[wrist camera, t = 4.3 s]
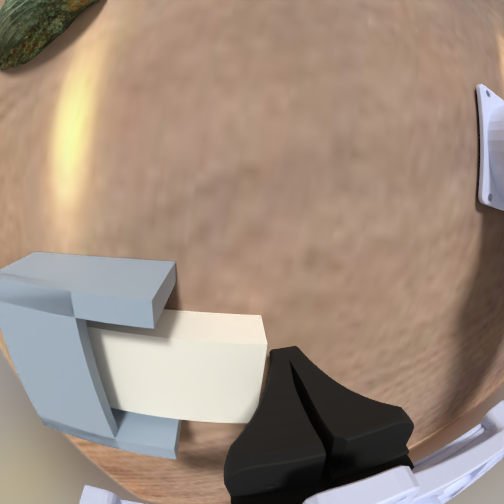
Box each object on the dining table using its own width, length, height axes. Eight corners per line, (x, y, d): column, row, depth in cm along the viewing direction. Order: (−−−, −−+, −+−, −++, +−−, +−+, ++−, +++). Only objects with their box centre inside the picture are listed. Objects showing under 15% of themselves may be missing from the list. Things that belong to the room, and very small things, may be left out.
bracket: (175, 261, 12) (151, 300, 8) (184, 406, 14) (176, 459, 10) (35, 251, 11) (-13, 276, 7) (68, 384, 13) (44, 424, 9)
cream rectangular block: (260, 313, 13) (267, 344, 10) (251, 389, 14) (255, 423, 12) (100, 300, 12) (78, 324, 10) (115, 375, 13) (100, 405, 11)
